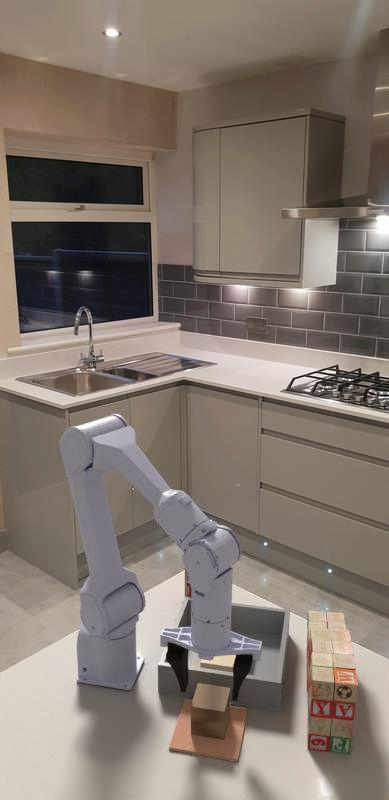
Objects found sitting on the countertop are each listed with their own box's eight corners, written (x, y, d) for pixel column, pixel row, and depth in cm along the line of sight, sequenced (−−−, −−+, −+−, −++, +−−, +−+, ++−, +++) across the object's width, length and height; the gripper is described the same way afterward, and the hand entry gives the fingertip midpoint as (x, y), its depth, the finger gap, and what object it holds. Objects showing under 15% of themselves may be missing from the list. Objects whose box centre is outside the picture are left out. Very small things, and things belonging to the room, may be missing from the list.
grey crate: (158, 693, 104) (157, 664, 103) (185, 622, 123) (185, 596, 121) (279, 712, 100) (280, 683, 99) (288, 636, 119) (289, 610, 117)
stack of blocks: (305, 655, 113) (308, 593, 110) (341, 659, 112) (346, 597, 109) (307, 751, 93) (312, 679, 90) (351, 756, 92) (358, 683, 89)
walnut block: (190, 734, 95) (190, 706, 94) (197, 710, 100) (198, 682, 98) (224, 740, 94) (224, 711, 93) (229, 715, 99) (230, 687, 97)
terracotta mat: (169, 749, 93) (169, 747, 93) (184, 700, 102) (184, 698, 102) (237, 761, 91) (237, 759, 91) (247, 711, 100) (247, 708, 100)
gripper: (154, 621, 89) (154, 703, 92) (258, 636, 86) (255, 720, 89) (167, 592, 95) (167, 670, 99) (264, 605, 92) (261, 685, 96)
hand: (209, 691), depth 95 cm, fingers open, 7 cm apart
